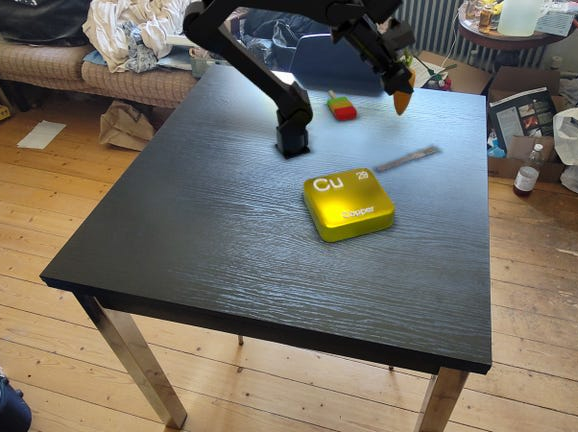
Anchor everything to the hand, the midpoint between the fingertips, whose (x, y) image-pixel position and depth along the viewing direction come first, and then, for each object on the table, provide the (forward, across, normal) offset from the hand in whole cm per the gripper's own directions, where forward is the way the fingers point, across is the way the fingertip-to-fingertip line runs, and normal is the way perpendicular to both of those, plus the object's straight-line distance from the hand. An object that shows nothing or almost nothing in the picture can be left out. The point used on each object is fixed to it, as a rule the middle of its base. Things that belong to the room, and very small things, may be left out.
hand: (408, 87), depth 99 cm
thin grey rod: (+9, -9, +11) cm, 16 cm away
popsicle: (+1, +18, +19) cm, 26 cm away
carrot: (+4, 0, +6) cm, 7 cm away
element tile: (-3, -24, +23) cm, 33 cm away
